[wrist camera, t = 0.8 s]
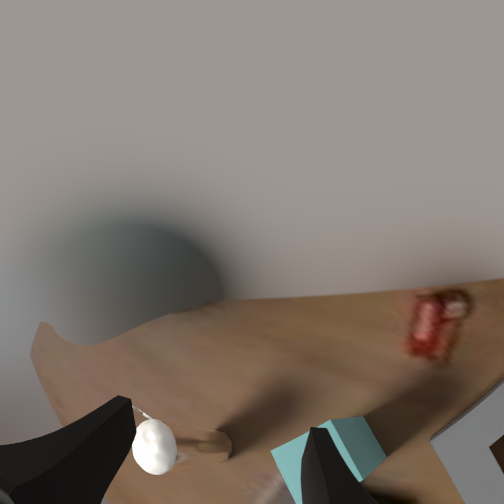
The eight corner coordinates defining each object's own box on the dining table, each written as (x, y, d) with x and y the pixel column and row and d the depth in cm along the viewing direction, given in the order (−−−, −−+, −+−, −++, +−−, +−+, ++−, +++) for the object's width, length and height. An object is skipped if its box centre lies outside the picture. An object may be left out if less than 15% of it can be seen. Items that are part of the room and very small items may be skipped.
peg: (386, 457, 18) (363, 480, 12) (340, 481, 19) (298, 508, 13) (363, 415, 21) (330, 419, 15) (319, 440, 21) (270, 450, 16)
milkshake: (236, 414, 26) (153, 405, 19) (240, 469, 23) (155, 479, 16) (198, 417, 28) (115, 405, 21) (201, 467, 25) (116, 470, 18)
